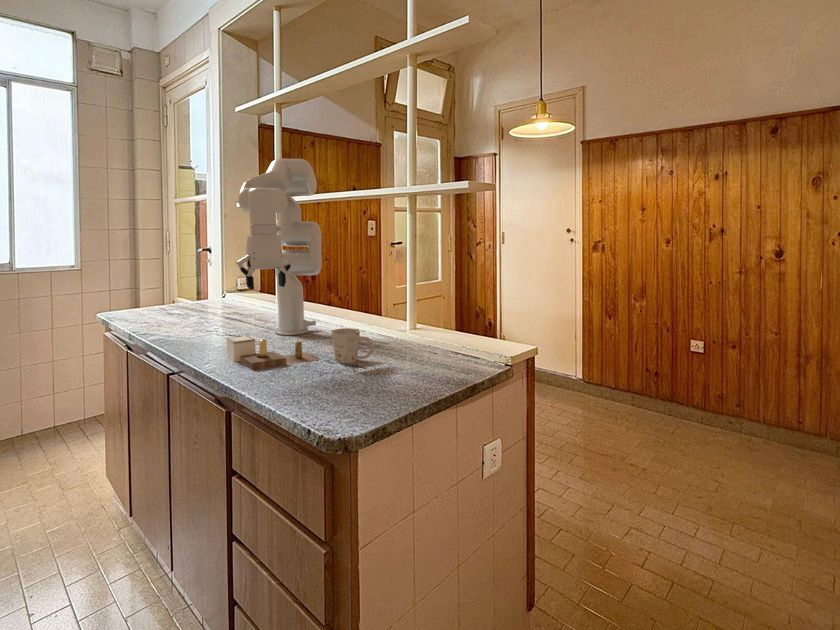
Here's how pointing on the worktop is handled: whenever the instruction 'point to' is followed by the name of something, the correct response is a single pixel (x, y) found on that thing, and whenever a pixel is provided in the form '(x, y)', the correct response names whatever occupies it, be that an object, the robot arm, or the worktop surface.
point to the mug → (348, 345)
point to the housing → (240, 347)
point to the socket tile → (263, 360)
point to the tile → (304, 358)
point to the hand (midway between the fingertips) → (266, 287)
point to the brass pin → (263, 348)
